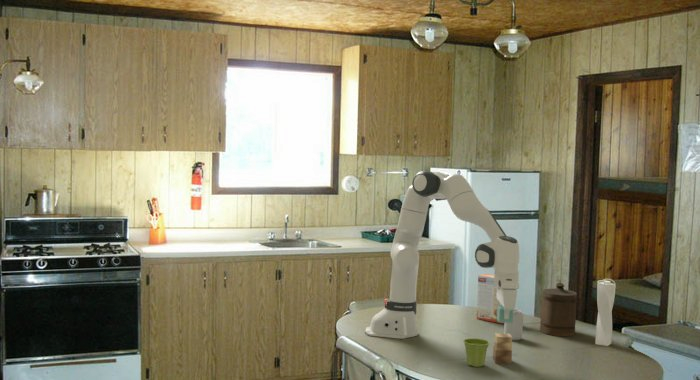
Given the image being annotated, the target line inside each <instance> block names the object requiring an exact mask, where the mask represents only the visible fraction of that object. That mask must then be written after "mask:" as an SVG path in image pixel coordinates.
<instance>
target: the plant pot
mask: <svg viewBox="0 0 700 380" xmlns="http://www.w3.org/2000/svg"><path fill="white" fill-rule="evenodd" d="M463 343H464V347H465V354H466V362H467V365H468V366H472V367H475V368H476V367H479V368H480V367H483V366H485V362H486V356H487V351H488V350H487V349H488V347H489V345H490V341H489V340H486V339H481V338H475V337H474V338H472V337H471V338H470V337H469V338H465V339H463Z"/></svg>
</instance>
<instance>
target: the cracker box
mask: <svg viewBox="0 0 700 380" xmlns="http://www.w3.org/2000/svg"><path fill="white" fill-rule="evenodd" d="M477 276H478V277H477V278H478V279H477V295H476V296H477V298H476V299H477V300H476V302H477V303H476V320H480V319H481V321H485V322H487V321H488V322H492V323H496V324H505V322H499V321H498V320H497V307H498V306H500V302H499V301H498V300H497V285H495V284H494V274H493V275H492V274H483V273H482V274H479V275H477Z"/></svg>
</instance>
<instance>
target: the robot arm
mask: <svg viewBox="0 0 700 380" xmlns="http://www.w3.org/2000/svg"><path fill="white" fill-rule="evenodd" d="M411 183H412V184H411V185H409V187H408V188H407V191H406V192H405V195H404V197H403V200H402V204H401V208H400V213H399V216H398V217H399V218H398V221H397V226H396V229H395V233H394V236H393V237H394V238H393V240H392V244H391V249H390V258H391V260H392V265H391V276H390V281H389V282H390V287H389V298H385V299H384V300H383V304H384V308H383V309H381V310H380V311H379V312H378V313H376V314H374V315H373V316H372V319H371V321H370V325H369V326H367V327H365V334H366V335H367V336H371V337H382V338H391V339H392V338H393V339H400V340H401V339H402V340H403V339H407V338H412V337H413V338H414V337H416V336H418V335H419V331H418V325H417V316H416V315H417V310H418V302H417V282H418V274H419V265H420V253H419V251H418V248H419V245H420V241H421V238H422V235H423V233H424V230H425V229H424V228H425V224H426V220H427V215H428V211H429V205H430V203H432V202H431V201H433V200H435V201H437V202H438V201H447V202H448V205H449V207H450V209H451V212H452V213H453V215H455V217H456V218H457V219H458V220H461V221H463V222H466V223H470V224H473V225H475V226H478V227H480V228H481V229H483V230H484V232H485V233H486V235H487V237H488V238H489V239H490V241H489V242H484V243H481V244H478V246H477V247H476V249H475V251H474V258H475V261H476V262H475V263H477V265H478V266H479V267H480V268H484V269H494V274H493V275H494V284H495V285H497V300H498V301H499V302H500V306H503V307H504V316H503V317H504V319H509V313H510V310H515V308H516V303H517V293H518V291H517V290H518V289H519V287H520V286H519V283H520V282H519V272H520V271H519V263H520V244H519V241H518V240H517V238H515V237H512V236H507V234H506V233H505V231H504V230H503V228H502V227H501V225H500V224H499V222H498V221H497V219H496V218H495V217H494V215H493V213H491V212H490V210H489V209H488V208H486V207H485V206H484V205H483V204H482V202H481V201H480V200H479V198H478V197H477V195H476V193H475V191H474V189H473V187H472V186H471V184H470V183H469V181H468V180H467V179H466V178H465V177H464V176H463V174H460V173H454V174H453V173H452V174H445V173H443V172H440V171H429V170H422V171H418V173H416V174H415V175H414V176H413V178H412V182H411Z"/></svg>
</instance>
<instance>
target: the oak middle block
mask: <svg viewBox="0 0 700 380" xmlns="http://www.w3.org/2000/svg"><path fill="white" fill-rule="evenodd" d="M512 342H513V340H512V337H511V335H510V334H504V332H503V333H502V332H494V345H493V346H495V348H496V350H506V351H511V350H512V346H513V343H512Z"/></svg>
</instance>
